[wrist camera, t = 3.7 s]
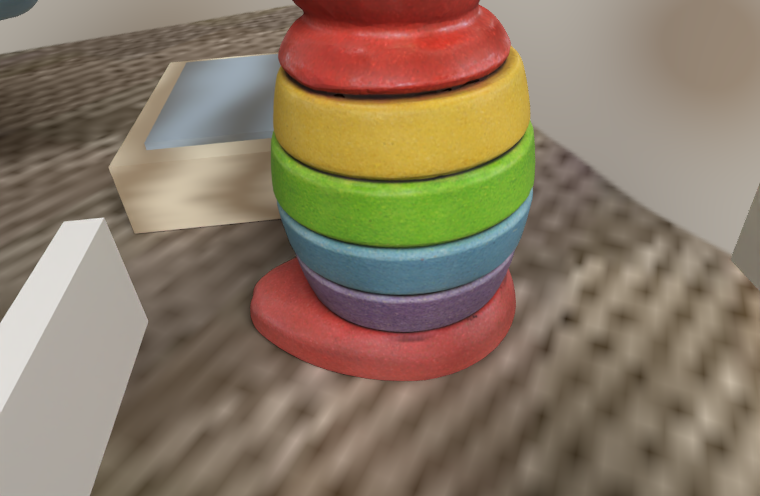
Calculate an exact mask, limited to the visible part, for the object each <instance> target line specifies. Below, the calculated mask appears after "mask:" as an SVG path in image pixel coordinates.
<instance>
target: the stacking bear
mask: <svg viewBox="0 0 760 496" xmlns="http://www.w3.org/2000/svg"><path fill="white" fill-rule="evenodd" d="M293 1H294V3H295V4H296V5H297V6H299V7H300V8H301V9H302V10H303V12H304V14H303V15H302V16H301V17H300V18H299V19H297V20H296V21H295V22H294V23H293V24H292V26H291V27H290V28H289V30H288V31H287V33H286V35H285V37H284V39H283V41H282V43H281V46H280V49H279V53H278V59H279V62H280V65H281V66H280V68H279V71H278V73H277V77H276V84H275V93H274V105H273V128H274V131H273V134H272V138H271V174H272V186H273V191H274V195H275V197H276V199H277V206H278V210H279V213H280V217H281V220H282V223H283V225H284V228H285V231H286V234H287V236H288V239H289V241H290V244H291V246H292V247H293V249H294V251H295V253H296V256H297V257H296V258H294V259H292V260H290V261H287V262H285V263H283V264H281V265H279V266H278V267H276V268H274V269H272V270H271V271H270V272H268V273H267V274H266V275H265V276H264V277H262V278H261V279H260V280H259V281H258V282H257V284H256V285H255V288H254V291H253V298H252V301H251V305H250V312H251V319H252V321H253V324H254V326H255V328H256V329H257V330H258V331H259V332H260V333H261V334H262V335H263V336H264V337H266V338H267V339H268V340H269V341H271V342H272V343H273V344H275V345H276V346H278V347H279V348H281V349H282V350H284V351H286V352H288V353H289V354H291V355H293V356H295V357H297V358H299V359H301V360H303V361H305V362H308V363H310V364H313V365H315V366H318V367H321V368H324V369H327V370H331V371H334V372H338V373H342V374H346V375H351V376H356V377H362V378H368V379H377V380H390V381H418V380H428V379H433V378H438V377H442V376H446V375H450V374H453V373H456V372H458V371H460V370H463V369H465V368H467V367H469V366H471V365H473V364H475V363H477V362H478V361H480V360H481V359H483V358H484V357H485V356H487V355H488V354H489V353H490V352H492V351H493V350H494V349H495V348H496V347H497V346H498V345H499V344H500V342H501V341H502V340H503V338H504V337H505V336H506V334H507V332H508V331H509V329H510V327H511V324H512V321H513V318H514V314H515V308H516V299H515V290H514V285H513V280H512V277H511V274H510V271H509V266H510V263H511V261H512V258H513V255H514V252H515V248H516V246H517V245H518V243H519V241H520V238H521V236H522V233H523V230H524V227H525V224H526V220H527V217H528V213H529V209H530V206H531V201H532V195H533V184H534V176H535V143H534V132H533V126H532V124H531V121H530V102H529V94H528V86H527V80H526V74H525V70H524V65H523V62H522V59H521V57H520V55H519V54H518V52H517V51H516V50H515V49H514V48H513V47H512V46H511V42H510V39H509V37H508V35H507V33H506V31H505V29H504V27H503V26H502V24H501V23H500V22H499V20H498V19H497V18H496V17H495V16H494V15H493V14H492V13H491V12H490V11H489V10H487V9H486V8H484V7H482V6H480V5H479V4H478V3H479V1H480V0H293Z"/></svg>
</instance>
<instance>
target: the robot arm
mask: <svg viewBox="0 0 760 496" xmlns="http://www.w3.org/2000/svg"><path fill="white" fill-rule="evenodd" d="M37 1H38V0H0V20H4V19H8V18H12V17H16V16H19V15H21V14H23V13H25V12H27V11H29V10H30V9H31V8H32V7H33V6H34V5H35V4H36V2H37ZM731 261H732V262H733V263H734V264H735V265H736V266H737V267H738V268H739V269H740V270H741V271H742V272H743V273H744V275H745V276H746V277H747V278H748V279H749V280H750V281H751V282H752V283H753V284H754V285H755V286H756V287H757V289H758V290H759V291H760V184H759V187H758V189H757V192H756V194H755V197H754V200H753V202H752V205H751V207H750V210H749V213H748V215H747V218H746V220H745V223H744V226H743V228H742V231H741V233H740V236H739V239H738V241H737V244H736V246H735V249H734V252H733V254H732V257H731ZM147 324H148V319H147V317H146V315H145V312H144V310H143V308H142V305H141V303H140V301H139V298H138V296H137V293H136V291H135V289H134V286H133V284H132V282H131V279H130V277H129V275H128V272H127V270H126V268H125V265H124V263H123V261H122V258H121V256H120V254H119V251H118V249H117V247H116V244H115V242H114V239H113V237H112V235H111V232H110V230H109V228H108V225H107V223H106V221H105V218H96V219H86V220H76V221H66V222H63V224H62V225H61V227H60V229H59V230H58V232H57V233H56V235H55V237H54V238H53V240H52V241H51V243H50V245H49V246H48V248H47V249H46V251H45V253H44V254H43V256H42V257H41V259H40V261H39V262H38V264H37V265H36V267H35V269H34V270H33V272H32V273H31V275H30V277H29V278H28V280H27V281H26V283H25V285H24V286H23V288H22V289H21V291H20V293H19V294H18V296H17V297H16V299H15V301H14V302H13V304H12V305H11V307H10V309H9V310H8V312H7V313H6V315H5V317H4V318H3V320H2V321H1V323H0V496H90V494H91V491H92V488H93V485H94V482H95V479H96V476H97V473H98V470H99V467H100V464H101V461H102V458H103V455H104V452H105V449H106V446H107V443H108V440H109V437H110V434H111V431H112V428H113V425H114V422H115V419H116V416H117V413H118V410H119V407H120V404H121V401H122V398H123V395H124V392H125V389H126V386H127V383H128V380H129V377H130V374H131V371H132V368H133V365H134V362H135V359H136V357H137V354H138V351H139V348H140V345H141V342H142V339H143V336H144V333H145V330H146V327H147Z"/></svg>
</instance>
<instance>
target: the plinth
mask: <svg viewBox="0 0 760 496" xmlns="http://www.w3.org/2000/svg"><path fill="white" fill-rule="evenodd" d="M280 66H281V65H280V62H279V59H278V53H268V54H258V55H247V56H236V57H226V58H215V59H204V60H194V61H183V62H172V63H170V64H169V66H168V68H167V69H166V71H165V73H164V74H163V76H162V78H161V79H160V81H159V83H158V84H157V86H156V88H155V90H154V91H153V93H152V95H151V96H150V98H149V100H148V101H147V103H146V105H145V106H144V108H143V110H142V112H141V113H140V115H139V117H138V118H137V120H136V122H135V123H134V125H133V127H132V129H131V130H130V132H129V134H128V135H127V137H126V139H125V140H124V142H123V144H122V145H121V147H120V149H119V151H118V152H117V154H116V156H115V157H114V159H113V161H112V162H111V164H110V166H109V170H110V172H111V175H112V178H113V180H114V183H115V185H116V188H117V190H118V193H119V195H120V198H121V200H122V203H123V205H124V208H125V210H126V213H127V215H128V218H129V221H130V223H131V226H132V228H133V231H134V233H135V234H137V233H147V232H157V231H166V230H176V229H186V228H195V227H205V226H215V225H225V224H234V223H244V222H254V221H264V220H273V219H281V217H280V213H279V210H278V206H277V199H276V197H275V195H274V191H273V186H272V174H271V138H272V134H273V131H274V128H273V105H274V93H275V84H276V77H277V73H278V71H279V68H280Z"/></svg>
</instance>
